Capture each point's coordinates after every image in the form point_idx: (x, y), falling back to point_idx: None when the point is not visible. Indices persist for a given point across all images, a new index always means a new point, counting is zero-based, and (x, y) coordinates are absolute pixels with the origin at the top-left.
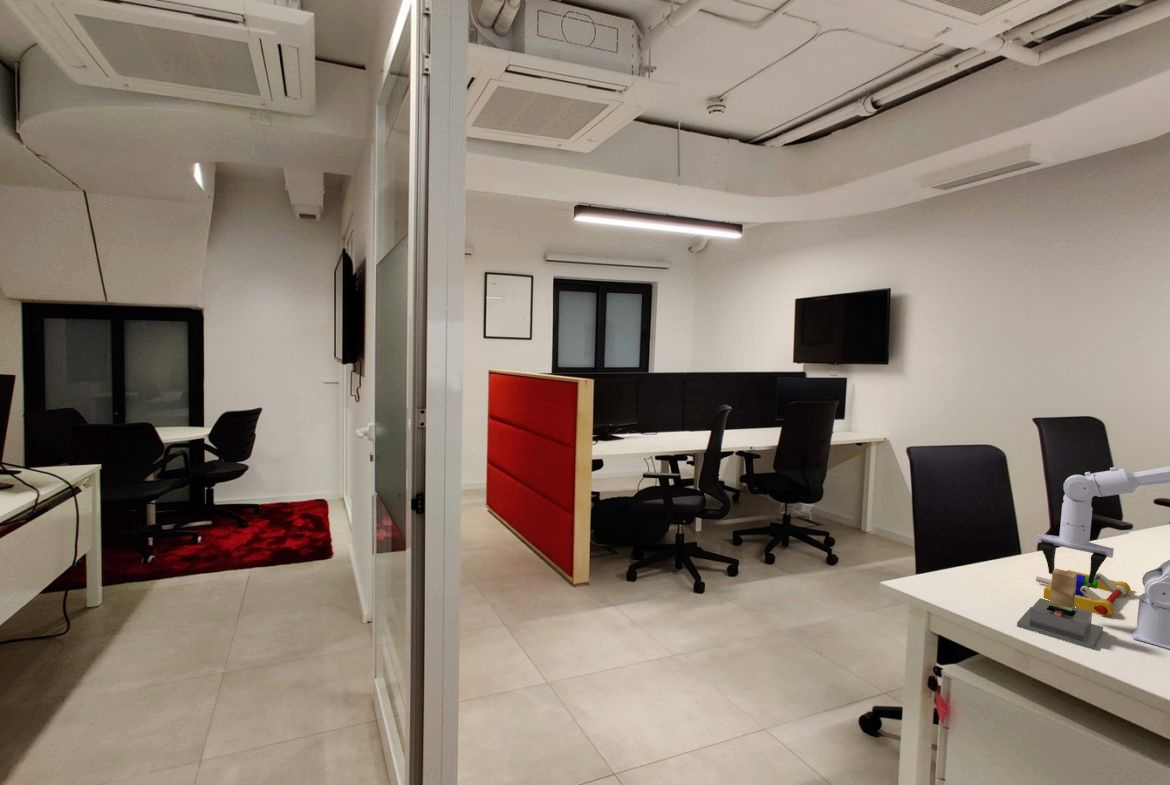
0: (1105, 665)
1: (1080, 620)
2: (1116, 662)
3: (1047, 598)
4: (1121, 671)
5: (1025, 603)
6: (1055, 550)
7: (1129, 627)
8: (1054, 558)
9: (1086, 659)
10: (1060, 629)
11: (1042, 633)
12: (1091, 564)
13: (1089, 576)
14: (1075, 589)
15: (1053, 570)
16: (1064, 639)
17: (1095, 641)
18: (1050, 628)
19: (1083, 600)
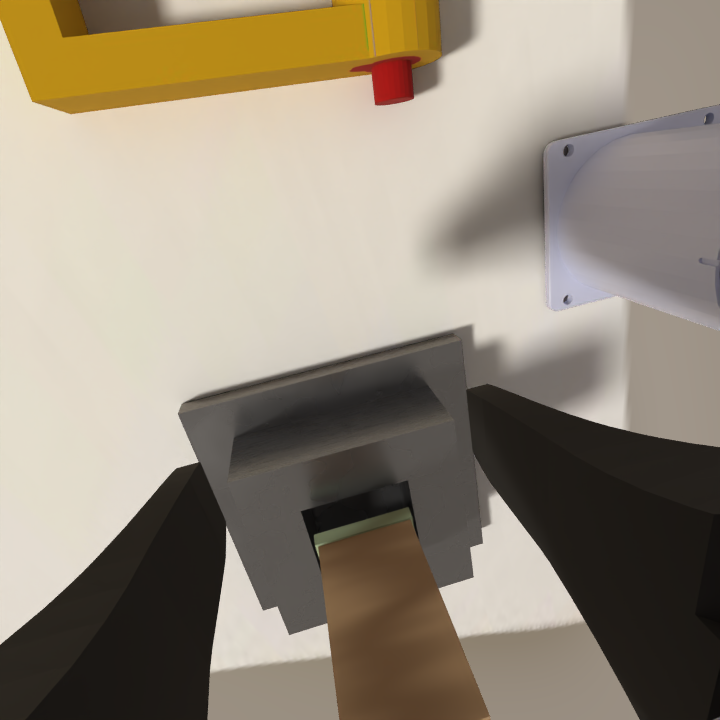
0: (521, 590)
1: (452, 562)
2: (537, 549)
3: (91, 109)
4: (553, 585)
5: (98, 325)
6: (92, 662)
7: (516, 144)
8: (145, 555)
9: (480, 603)
10: None
11: None
12: (602, 634)
13: (506, 500)
14: (440, 598)
15: (207, 504)
16: None
17: (479, 512)
18: None
19: (294, 71)
